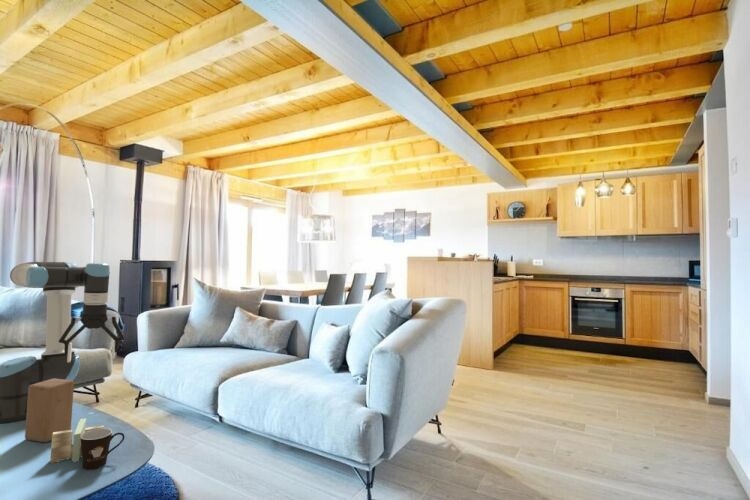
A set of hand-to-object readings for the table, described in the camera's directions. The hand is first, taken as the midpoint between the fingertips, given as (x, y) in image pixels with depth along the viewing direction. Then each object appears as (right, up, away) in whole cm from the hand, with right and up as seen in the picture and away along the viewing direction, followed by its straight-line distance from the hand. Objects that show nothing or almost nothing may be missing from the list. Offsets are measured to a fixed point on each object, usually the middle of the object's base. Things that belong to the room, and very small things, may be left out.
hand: (91, 360), depth 149 cm
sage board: (+5, -29, -13) cm, 32 cm away
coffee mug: (+17, -29, -20) cm, 39 cm away
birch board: (+6, -29, -15) cm, 33 cm away
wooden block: (-15, -28, -2) cm, 32 cm away
